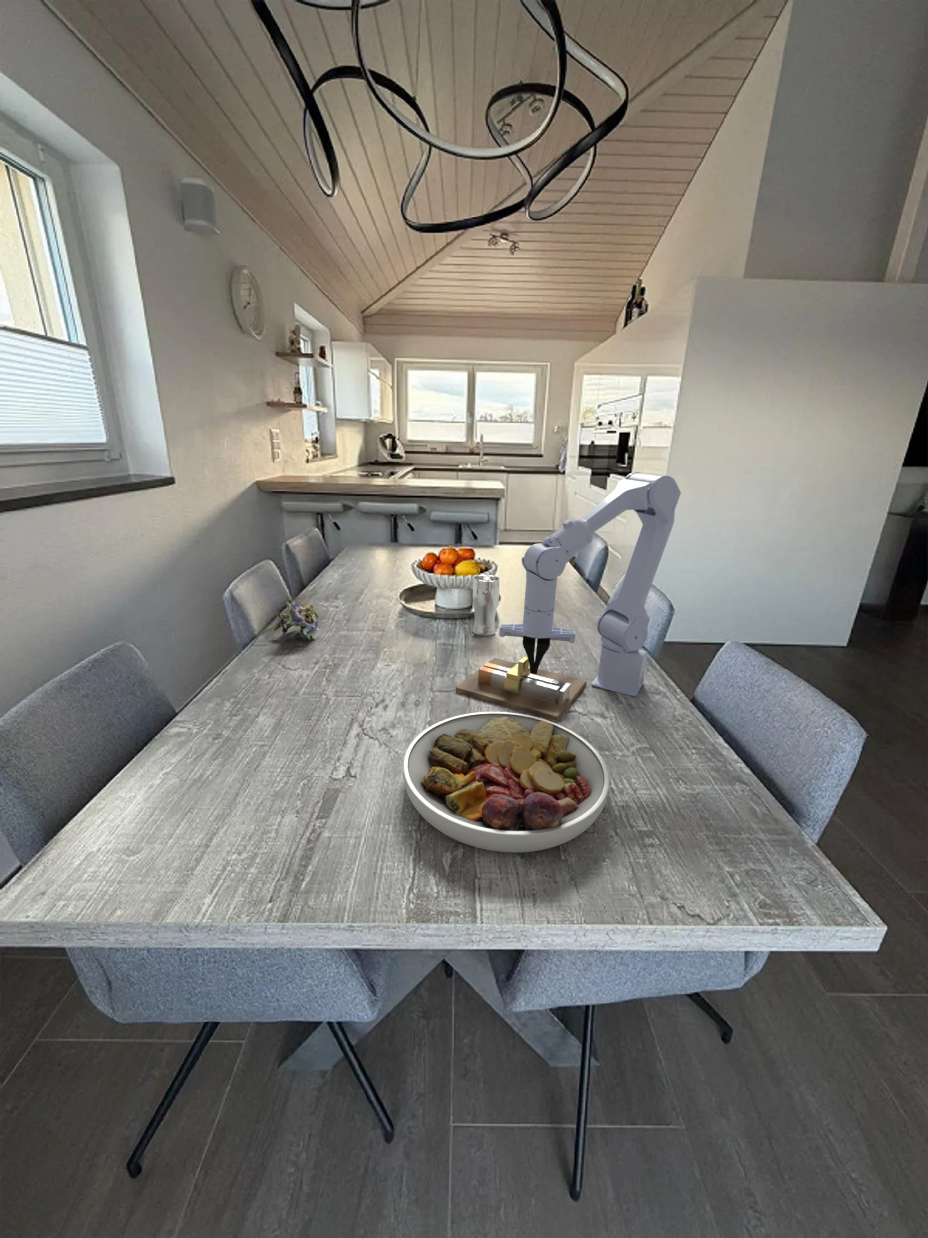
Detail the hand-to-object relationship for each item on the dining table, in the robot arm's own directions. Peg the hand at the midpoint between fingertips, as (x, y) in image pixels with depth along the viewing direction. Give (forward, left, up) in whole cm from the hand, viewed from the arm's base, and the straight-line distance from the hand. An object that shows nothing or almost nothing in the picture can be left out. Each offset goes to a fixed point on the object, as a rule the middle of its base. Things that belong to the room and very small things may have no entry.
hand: (533, 672), depth 105 cm
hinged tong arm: (+3, -1, -4) cm, 5 cm away
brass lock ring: (+3, +1, -4) cm, 5 cm away
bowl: (-8, +29, -6) cm, 31 cm away
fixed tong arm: (+2, 0, -5) cm, 5 cm away
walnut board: (+3, -3, -6) cm, 7 cm away
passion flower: (+62, +3, -6) cm, 63 cm away
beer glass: (+25, -28, -6) cm, 38 cm away
